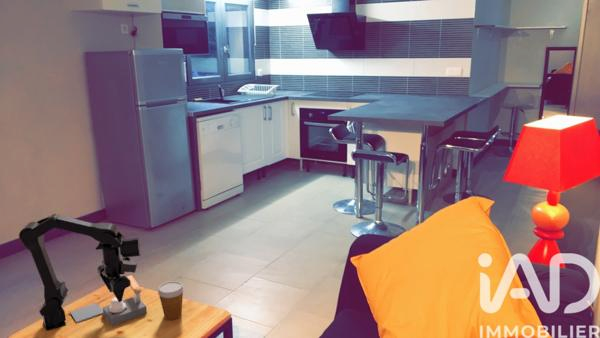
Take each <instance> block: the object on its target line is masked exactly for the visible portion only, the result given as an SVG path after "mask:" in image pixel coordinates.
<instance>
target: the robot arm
mask: <svg viewBox="0 0 600 338" xmlns="http://www.w3.org/2000/svg"><path fill="white" fill-rule="evenodd" d="M53 229H58V230H60V231H61V230H62V231H66V232H70V233H76V234H79V235H84V236H88V237H90V238H92V239H93V240H94V241H97V242H99V243H97V245H96V247H95V250H96V251H97V250H98V251H99V250H101V252H102V253H101V254H102V260H101V265H99V266H98V267H97V274H98V275H99V277H100V278H101V281H102V282H103V283H104V285H105V286H106V288H107V290H108V291H109V293H113V295H114V298H115V297H116V298H117V300H118V302H121V301H122V300H123V297H124V292H125V290H126V288H129V287H130V285H131V282H130V280H129V279H128V278H127V276H126V275H125V273H134V274H135V273H136V270H137V266H138V264H137V263H136V262H135V261H134V260H132V259H131V258H134V257H141V255H142V254H141V253H142V248H141V246H142V245H141V243H140V240H139V239H140V238H139V237H133V238H127V239H125V236H124V235H123V234H122V232H120V231H119V229H118V227H117V225H116V224H114V223H110V222H98V223H97V222H96V223H94V222H89V221H86V220H82V219H81V220H80V219H75V218H72V217H67V216H63V215H60V214H58V213H53V214H51V215H49V216H47V217H44V218H42V219H39V220H37V221H29V222H28V223H27V224H26V225H25V226H24V227H22V228H21V230H20V232H19V234H18V239H19V240H20V242H21V243H22V245H23V246H24V247H25V248H26V249H27V250H28V251H29V252H30V254H31V256H32V259H33V261H34V265H35V267H36V269H37V272H38V274H39V277H40V279H41V282H42V285H43V297H44V302H43V304H42V306H41V308H40V309H39V314H40V315H41V317H42V320H43V321H42V325H43V327H44V329H45V331H46V332H48V331H51V330H55V329H57V328H59V327H63V326H65V325H66V324H67V323H66V321H67V319H66V311H65V309H64V308H63V307H62V305H63V303H64V302H65V301H66V298H67V296H68V292H69V289H68V288H67V286H66V282H65V281H62V282H60V280H58V279H57V276H56V273H55V270H54V267H53V265H52V263H51V260H50V257H49V254H48V252H47V249H46V246H45V234H46V233H48V232H49V231H51V230H53ZM120 256H121V257H122V259H121V257H120Z"/></svg>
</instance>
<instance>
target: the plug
mask: <svg viewBox="0 0 600 338" xmlns="http://www.w3.org/2000/svg"><path fill="white" fill-rule="evenodd" d="M123 300H124V299H122V301H121V302H118V300H117V298H116V297H115V296H114V297H113V298H111V300H110V303H111V304H110V305H111V306H110V307H109V311H110V312H111V313H113V314H116V313H120V312H122V311H124V310H125V309H126V304H125V303H123Z"/></svg>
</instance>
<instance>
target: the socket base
mask: <svg viewBox="0 0 600 338" xmlns="http://www.w3.org/2000/svg"><path fill="white" fill-rule="evenodd" d="M122 300H123V303H125V304H126V309H125V310H124V311H122V312H120V313H116V314H113V313H111V312H110V311H109V307H110V306H111V304H109V305H106V306H103V307H102V310H103V314H102V315H103V316H104V317H105V318H106V320H107V321H108V322H109V324H110V325H111V326H115V325H118V324H121V323H123V322H124V323H125V322H127V321H129V320H132V319H134V318H138V317H141V316H142V315H143V316H144V315H146V314H147V313H148V312H147V306H146V304H145V303H144V302H143V301H142V299H141V292H140V293H137V294H136V293H135V296H132V297H130V298H126V299H122Z"/></svg>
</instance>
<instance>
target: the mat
mask: <svg viewBox="0 0 600 338" xmlns="http://www.w3.org/2000/svg"><path fill="white" fill-rule="evenodd" d="M69 314H70V315H71V317H72V318H73V320H74V321H75V322H76V324H78V323H80V322H84V321H87V320H89V319H92V318H95V317H98V316H101V315H104V314H103V308H102V307H101V306H100V305H99V303H98V302H95V303H92V304H90V305H86V306H83V307H81V308H78V309H74V310H70V311H69Z"/></svg>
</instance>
